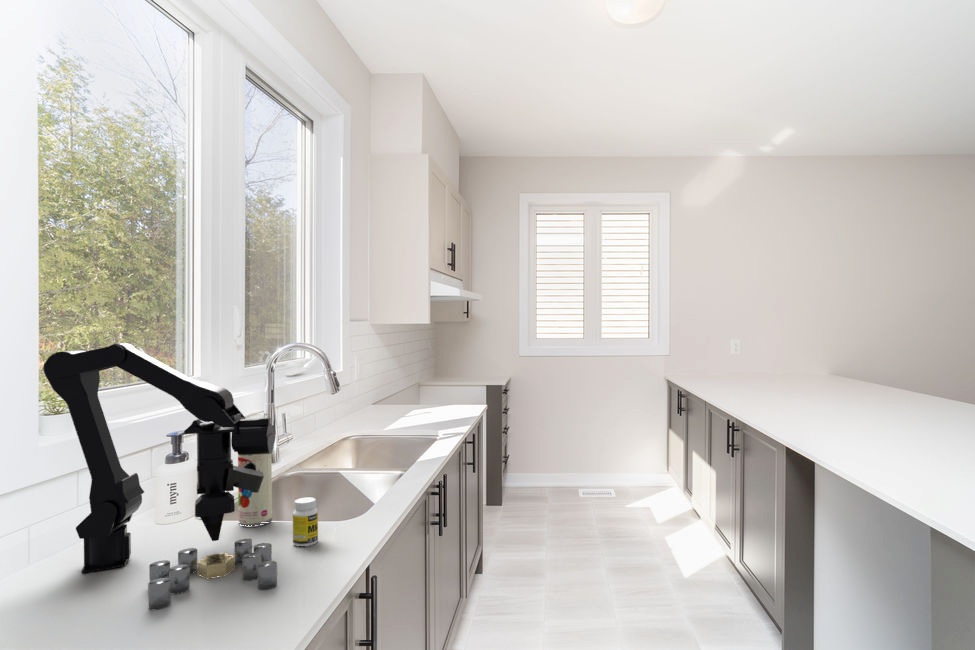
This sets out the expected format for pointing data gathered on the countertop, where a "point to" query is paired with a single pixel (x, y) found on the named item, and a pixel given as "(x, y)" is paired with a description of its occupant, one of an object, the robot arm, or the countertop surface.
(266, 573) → the spacers
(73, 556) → the countertop surface
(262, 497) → the aerosol can
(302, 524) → the supplement bottle
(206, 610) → the countertop surface
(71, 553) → the countertop surface
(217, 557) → the wooden star-faceted hexagon
